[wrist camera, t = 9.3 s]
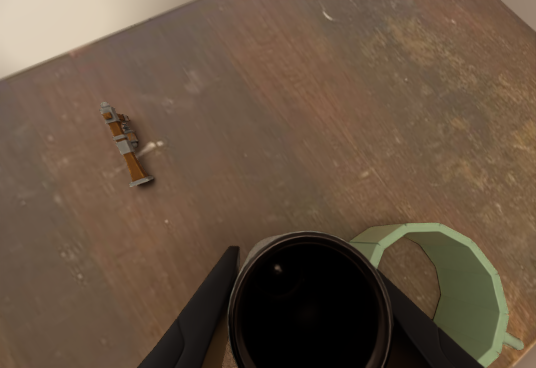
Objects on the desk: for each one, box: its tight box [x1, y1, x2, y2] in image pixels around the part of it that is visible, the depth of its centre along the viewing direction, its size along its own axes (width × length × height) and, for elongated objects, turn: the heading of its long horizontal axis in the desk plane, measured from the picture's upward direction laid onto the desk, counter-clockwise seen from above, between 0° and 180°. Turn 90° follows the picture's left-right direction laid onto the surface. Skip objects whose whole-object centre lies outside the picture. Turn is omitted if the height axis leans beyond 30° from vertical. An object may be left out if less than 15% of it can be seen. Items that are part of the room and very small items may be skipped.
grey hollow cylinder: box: [228, 231, 394, 368], centre depth 11 cm, size 4×4×10 cm
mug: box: [350, 223, 524, 368], centre depth 19 cm, size 14×11×6 cm
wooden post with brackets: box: [99, 102, 154, 187], centre depth 22 cm, size 2×8×4 cm, turn 22°
